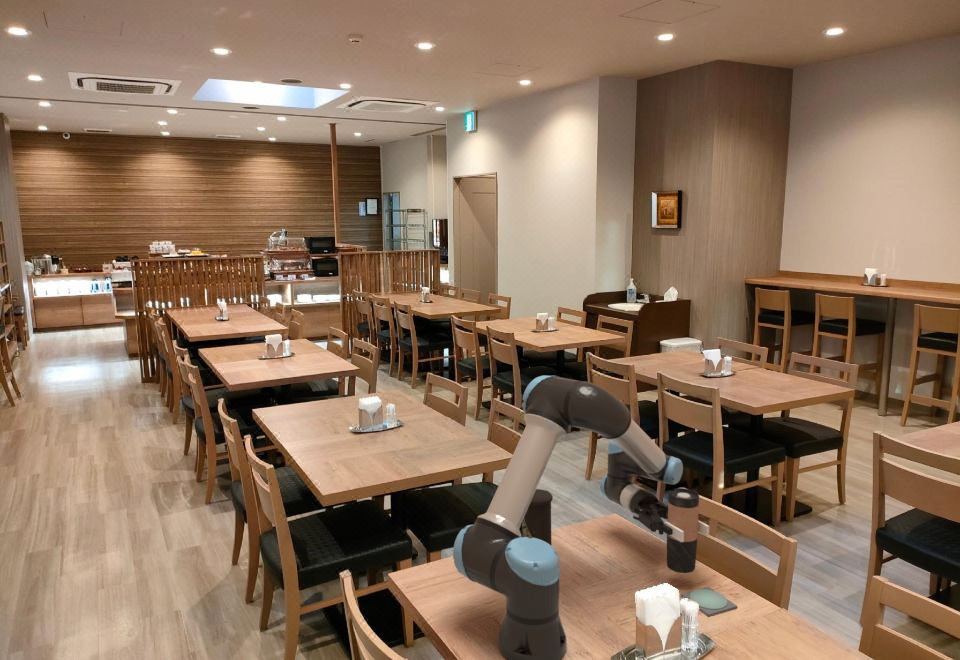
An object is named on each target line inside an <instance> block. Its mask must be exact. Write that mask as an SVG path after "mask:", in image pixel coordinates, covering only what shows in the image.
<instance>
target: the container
mask: <svg viewBox="0 0 960 660" xmlns="http://www.w3.org/2000/svg"><path fill="white" fill-rule="evenodd" d="M552 501H553V494H552V492H550V491H549V490H548V491H547V490H546V489H540V488H536V491H535V493H534V495H533V498H532V500H531V502H530V504H529V507H528V509H527V511H526V514H525V516H524V518H523V521H522V523H521V528H522V529H521V530H522V531H521V536H522V537H528V538H530V539H531V538H537V539H540V540H543V541H545V542H547V543H548V544H550V545H551V546H552V545H553V543H552ZM552 547H553V546H552Z"/></svg>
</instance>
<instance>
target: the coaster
mask: <svg viewBox="0 0 960 660" xmlns="http://www.w3.org/2000/svg"><path fill="white" fill-rule="evenodd" d="M683 597H684V598H688V599H691V600H693V601H696V602H697V603H698V604H699V608H700V610H699V611H700V612H701V613H702V614H704V615H705V616H707V617H708V618H709V617H712V615H713V616H716V615H718V614H719V613H720V614H722V612H723V613H726V612H729V611H733V610H736V608H737V609H738V605H736V604H735V603H733V602H732V601H731V600H729V599H728V598H726V596H725V595H724V594H723V593H720V592H718V591H716V590H714V589H713V588H712V587H710V586H706V587H704V588H703V587H702V588H699V589H695V590H691V591H688V592H685V593H684V592H683V593H681V594H680V598H682V599H683ZM715 614H716V615H715ZM720 614H719V615H720Z"/></svg>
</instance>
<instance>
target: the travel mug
mask: <svg viewBox="0 0 960 660" xmlns="http://www.w3.org/2000/svg"><path fill="white" fill-rule="evenodd" d="M699 503H700V494H699V493H698V492H697V491H695V490H693V489H689V488H683V487H682V488H675V489H674V490H672V491H671V490H669V492H668V503H667V505H668V520H667V519H666V520H667V521H666V522H669V523H670V524H672V525H674V526H675V527H677V528H679V529H681V530H682V531H684V542H680V541H678V540H677V539H675V538H673V537H672V536H670V535H668V534H666V566H667V568H668V569H669V570H671V571H672V572H675V573H679V574H689V573H692V572H694V571H696V570H695V569H696V560H697V549H698V547H697V546H698V538H699V537H698V535H699V532H698V520H699V511H700V510H699V507H700V505H699Z"/></svg>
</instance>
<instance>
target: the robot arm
mask: <svg viewBox="0 0 960 660" xmlns="http://www.w3.org/2000/svg"><path fill="white" fill-rule="evenodd" d="M522 401H523V402H522V403H521V405H522V410H523V413H524V416H523V419H524V421H525V428H524V429H523V432H522V434H521V437H520V439H519V440H518V443H517V445H516V447H515V450H514V452H513V454H512V456H511V458H510V461H509V462H508V465H507V467H506V468H505V471H504V473H503V476H502V478H501V481H500V483H499V484H498V486H497V489H496V490H495V493H494V495H493V498H492V500H491V502H490V504H489V506H488V509H487V510H486V511H485V513H483V514H480V515H478V516H477V518H476V520H475V522H474V524H468V525H466V526H464V528H462V529H461V530H460V531H459V532H458V534H457V536H456V538H455V540H454V544H453V549H452V558H453V563H454V567H455V569H456V570H457V571H458V573H459V574H460V575H462V576H464V577H465V578H467V579H468V580H469V581H472V582H473V583H477V584H480V585H481V586H484V587H486V588H488V589H490V590H491V591H492V590H493V592H494V591H495V592H496V593H499V594H501V595H503V596H504V597H506V598H505V600H506V601H505V602H506V604H505V605H506V606H505V607H506V608H505V609H506V613H505V616H504V618H503V621H502V625H501V627H500V630H499V633H498V649H499V652H500V653H501V655H502V656H503V657H504V658H505V659H506V660H562V659H563V657H564V656H565V655H566V652H567V634H566V632H565V628H564V626H563V623H562V620H561V616H560V576H561V568H560V558H559V555H558V552H557V550H556V549H555V548H554V547H553V546H551V545H550V544H548V543H547V542H545V541H543V540H540V539H537V538H531V539H530V538H528V537H522V532H521V530H520V528H521V526H522V521H523V518H524V516H525V514H526V511H527V509H528V507H529V504H530V502H531V500H532V498H533V495H534V493H535V491H536V489H538V486H539V484H540V481H541V478H542V477H543V475H544V472H545V470H546V468H547V465H548V462H549V461H550V458H551V456H552V453H553V451H554V449H555V447H556V443H557V442H558V440H560V439H562V438H566V437H567V434H568V433H569V429H570V428H571V427H572V428H576V429H581V430H586V431H590V432H593V433H597V434H598V435H600V436H601V437H602V438H604V439H606V440H608V446H607V447H608V450H607V473H606V474H605V475H604V476H603V477H602V478H601V480H600V481H601V482H600V483H599V489H600V492H601V493H602V495H604V496H605V497H606V498H607V499H608V500H609V501H610V502H614V503H616V504H617V505H619V506H620V507H622V508H624V509H626V510H627V511H629V512H630V513H632V514H633V519H634V520H637V521H638V522H640V523H641V524H642V525H643V526H645V527H646V528H647V530H649V531H650V532H652V533H656V532H657V531H658V535H664V534H666V535H667V534H668V535H670V536H672V537H673V538H675V539H677V540H678V541H680V542H684V531H682V530H681V529H679V528H677V527H675V526H674V525H672V524H670V523H669V522H667V521H665V522H664V520H663V519H665V520H668V504H666V503H663V502H660V500H659V499H658V498H657V496H656V495H655V494H654V493H652V492H651V491H648V490H646V489H645V488H643V487H640V486H639V485H637V484H635V483H634V476H637V477H641V478H646V479H649V480H653V481H657V482H658V483H659V482H660V483H663V484H667V485H668V484H669V485H673V486H674V485H676V484H678V483H679V482H680V480H681V478H682V476H683V472H684V471H683V470H684V465H683V462H682V460H681V459H680V458H678V457H675V456H672V455H667V454H666V453H665V452H664V451H663V450H662V449H661V448H660V447H659V446H658V445H657V444H656V443H655V442H654V441H653V440H652V438H651V437H650V436H649V435H648V434H647V433H646V432H645V431H644V430H643V429H642V428H641V427H640V426H639V425H638V423H636V421H634V420H633V418H632V416H633V415H632V412H631V411H630V409H629V408H628V407H627V406H626V404H624V403H623V402H622V401H621V400H620V399H619V398H617V397H616V396H615V395H614V394H612V393H611V392H609V391H608V390H607V389H605V388H604V387H602V386H600V385H598V384H595V383H594V382H589V381H583V380H582V381H581V380H577V379H572V378H567V377H566V378H565V377H560V376H558V375H540V376H537V377H535V378H534V379H532V380H531V381H530V382H529V383H528V384H527V386H526V388H525V389H524V393H523V395H522ZM699 533H700V534H701V535H703V536H705V537H706V538H707V537H710V525H708V524H707V523H705V522H703V521H701V520H700V519H698V534H699Z"/></svg>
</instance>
